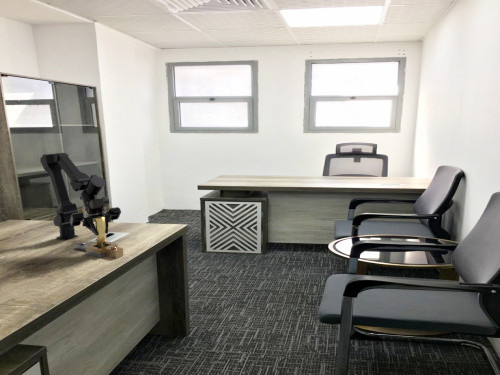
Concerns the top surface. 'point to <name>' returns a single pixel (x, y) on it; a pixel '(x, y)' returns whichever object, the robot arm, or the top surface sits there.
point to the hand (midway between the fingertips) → (102, 234)
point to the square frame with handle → (101, 250)
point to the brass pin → (101, 232)
